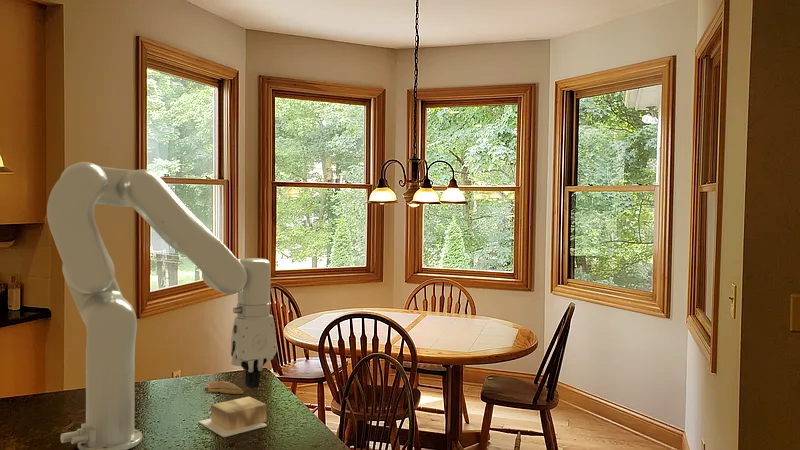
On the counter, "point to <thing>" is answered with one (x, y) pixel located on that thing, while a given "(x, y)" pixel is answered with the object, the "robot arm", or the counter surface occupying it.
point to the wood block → (238, 413)
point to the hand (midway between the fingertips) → (252, 386)
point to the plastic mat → (226, 433)
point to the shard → (224, 387)
